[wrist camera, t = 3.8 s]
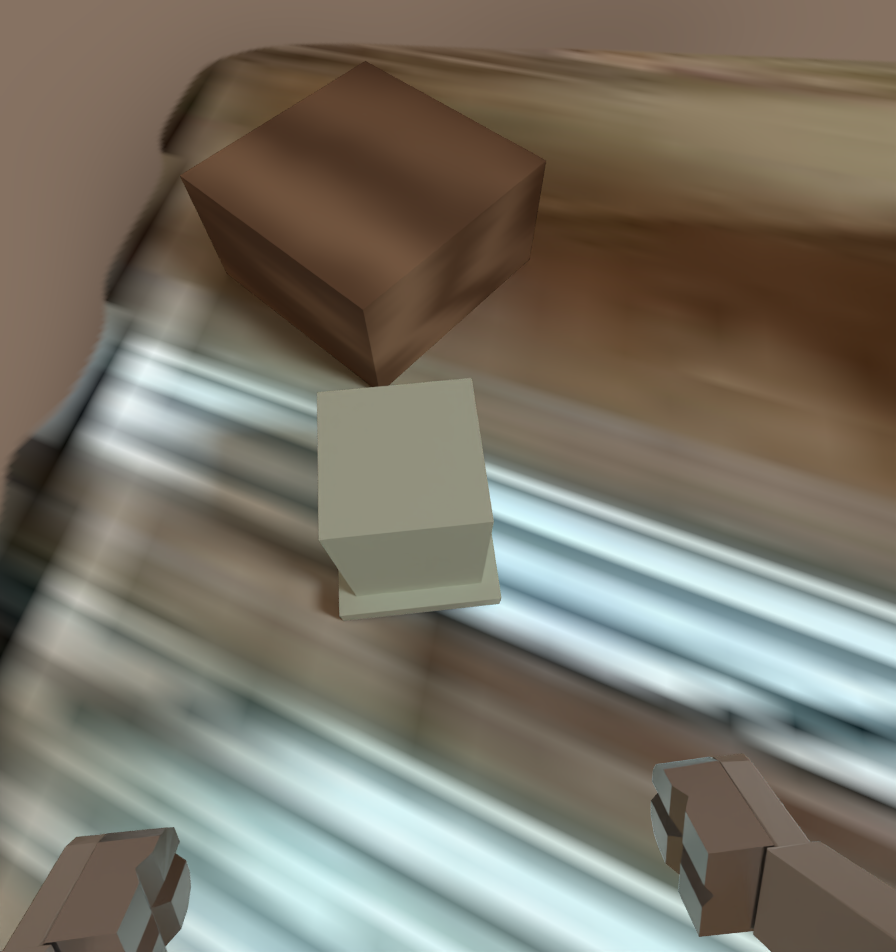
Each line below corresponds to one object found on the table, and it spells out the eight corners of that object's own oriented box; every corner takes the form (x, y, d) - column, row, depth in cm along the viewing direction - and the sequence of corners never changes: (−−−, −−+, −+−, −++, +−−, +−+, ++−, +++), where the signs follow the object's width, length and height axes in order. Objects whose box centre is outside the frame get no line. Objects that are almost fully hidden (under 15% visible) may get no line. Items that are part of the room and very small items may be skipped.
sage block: (340, 479, 25) (295, 376, 18) (478, 465, 26) (490, 358, 18) (344, 621, 23) (293, 566, 15) (499, 603, 23) (521, 542, 16)
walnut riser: (378, 166, 35) (365, 60, 29) (529, 260, 31) (546, 160, 26) (227, 273, 31) (179, 175, 25) (380, 394, 28) (363, 309, 22)
